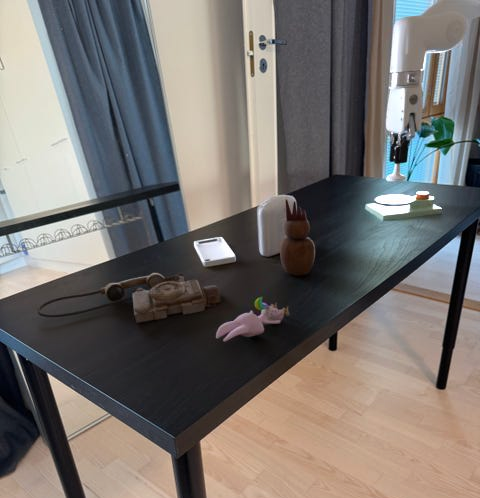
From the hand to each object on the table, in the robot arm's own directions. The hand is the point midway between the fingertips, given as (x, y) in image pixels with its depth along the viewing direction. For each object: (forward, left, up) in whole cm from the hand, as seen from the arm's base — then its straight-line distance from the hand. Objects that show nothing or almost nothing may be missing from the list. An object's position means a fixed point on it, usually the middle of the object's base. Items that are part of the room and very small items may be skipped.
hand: (397, 161), depth 108 cm
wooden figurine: (+35, +31, -13) cm, 48 cm away
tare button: (-8, 0, -11) cm, 13 cm away
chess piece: (0, 0, -5) cm, 5 cm away
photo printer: (+36, +17, -13) cm, 42 cm away
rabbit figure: (+47, +52, -13) cm, 71 cm away
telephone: (+67, +36, -13) cm, 77 cm away
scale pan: (0, 0, -10) cm, 10 cm away
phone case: (+51, +14, -13) cm, 54 cm away
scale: (-2, 0, -13) cm, 13 cm away
